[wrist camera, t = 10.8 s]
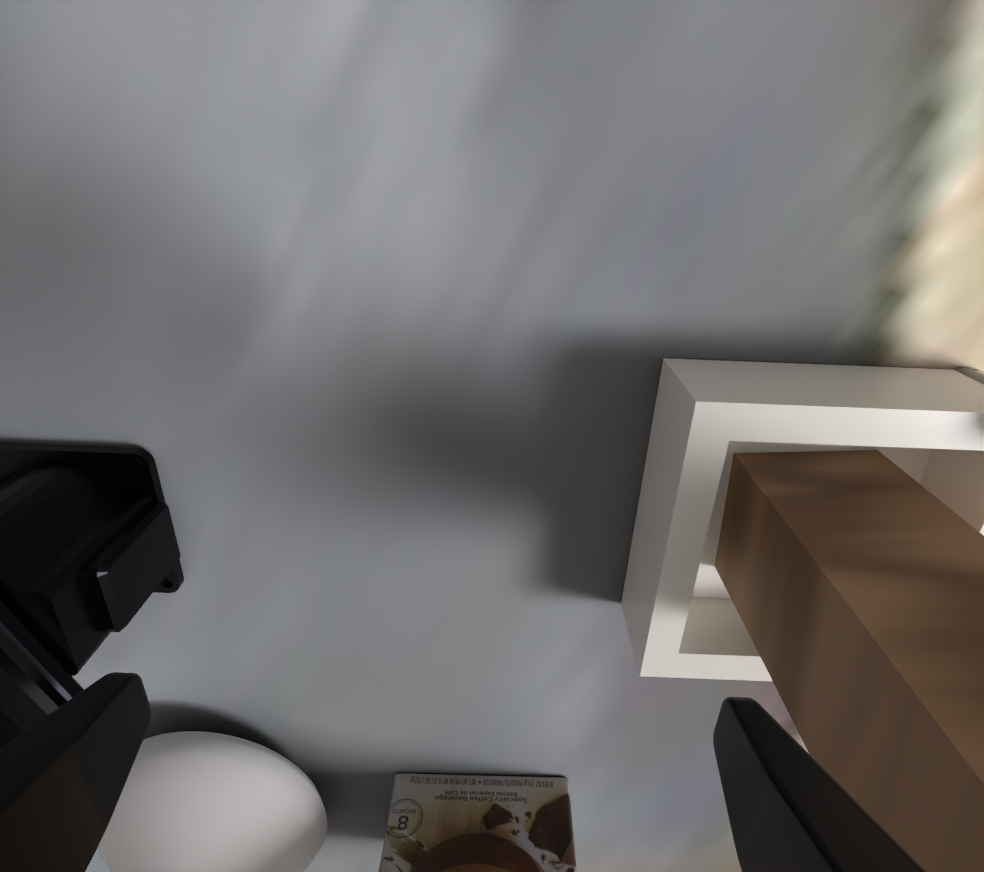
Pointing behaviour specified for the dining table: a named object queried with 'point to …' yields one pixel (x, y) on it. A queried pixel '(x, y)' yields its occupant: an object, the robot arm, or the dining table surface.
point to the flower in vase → (213, 809)
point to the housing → (772, 428)
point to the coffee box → (478, 824)
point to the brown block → (869, 635)
